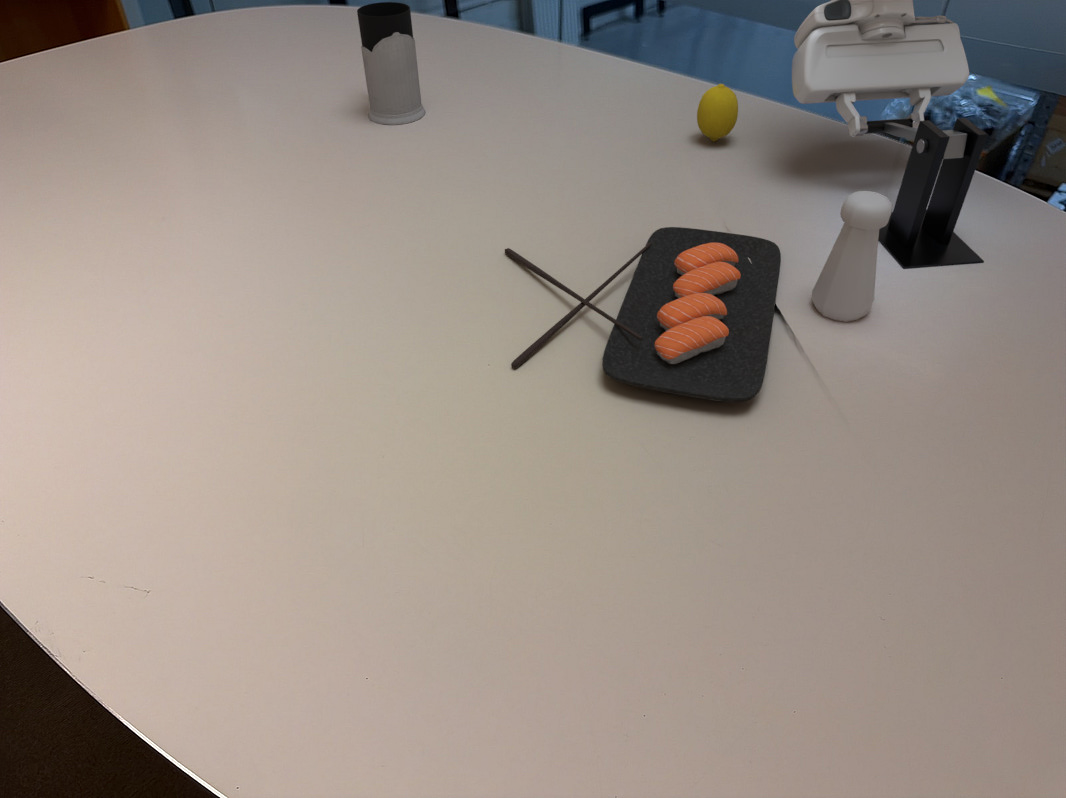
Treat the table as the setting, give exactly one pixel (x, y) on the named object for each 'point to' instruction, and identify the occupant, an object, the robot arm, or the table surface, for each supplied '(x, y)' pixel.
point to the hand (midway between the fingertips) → (886, 132)
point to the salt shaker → (853, 259)
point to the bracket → (933, 200)
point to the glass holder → (390, 63)
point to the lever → (906, 131)
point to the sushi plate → (688, 315)
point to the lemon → (717, 112)
